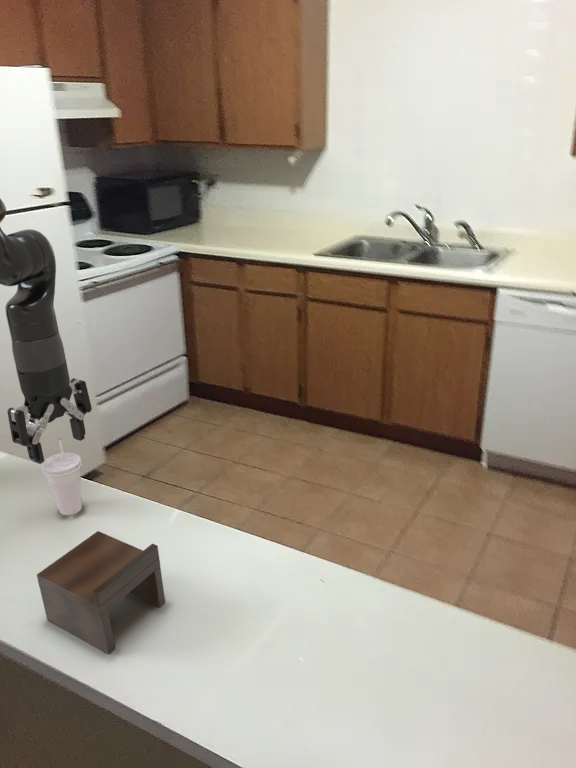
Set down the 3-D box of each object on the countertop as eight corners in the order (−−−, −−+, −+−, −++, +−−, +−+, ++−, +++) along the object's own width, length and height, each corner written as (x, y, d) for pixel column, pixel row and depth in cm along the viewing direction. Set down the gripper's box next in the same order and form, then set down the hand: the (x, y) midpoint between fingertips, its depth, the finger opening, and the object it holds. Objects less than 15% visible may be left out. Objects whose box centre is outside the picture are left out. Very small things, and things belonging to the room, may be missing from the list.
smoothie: (79, 521, 113) (65, 449, 108) (44, 518, 114) (29, 447, 109) (95, 500, 119) (83, 431, 113) (62, 497, 120) (48, 428, 114)
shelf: (47, 620, 93) (33, 562, 88) (105, 573, 101) (95, 519, 97) (108, 654, 87) (97, 594, 83) (165, 602, 95) (157, 545, 91)
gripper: (60, 342, 112) (76, 427, 119) (-14, 372, 102) (8, 464, 108) (91, 349, 109) (106, 437, 115) (17, 381, 98) (39, 476, 104)
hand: (59, 450), depth 112 cm, fingers open, 8 cm apart
